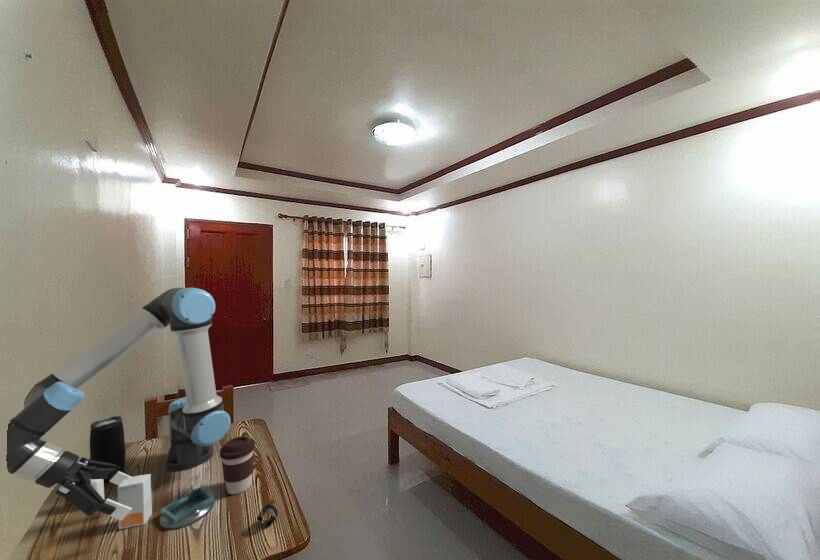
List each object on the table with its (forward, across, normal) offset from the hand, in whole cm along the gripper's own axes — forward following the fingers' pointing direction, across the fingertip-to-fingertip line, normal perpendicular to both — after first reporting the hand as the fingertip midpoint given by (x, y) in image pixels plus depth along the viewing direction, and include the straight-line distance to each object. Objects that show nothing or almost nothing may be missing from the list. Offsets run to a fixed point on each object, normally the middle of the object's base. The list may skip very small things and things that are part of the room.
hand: (131, 498), depth 87 cm
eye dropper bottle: (-3, -17, -13) cm, 22 cm away
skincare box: (+6, 0, -5) cm, 7 cm away
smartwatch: (+27, +23, +17) cm, 39 cm away
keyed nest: (+14, +4, +4) cm, 15 cm away
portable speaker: (-2, -32, -12) cm, 35 cm away
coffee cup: (+24, +1, +13) cm, 27 cm away
